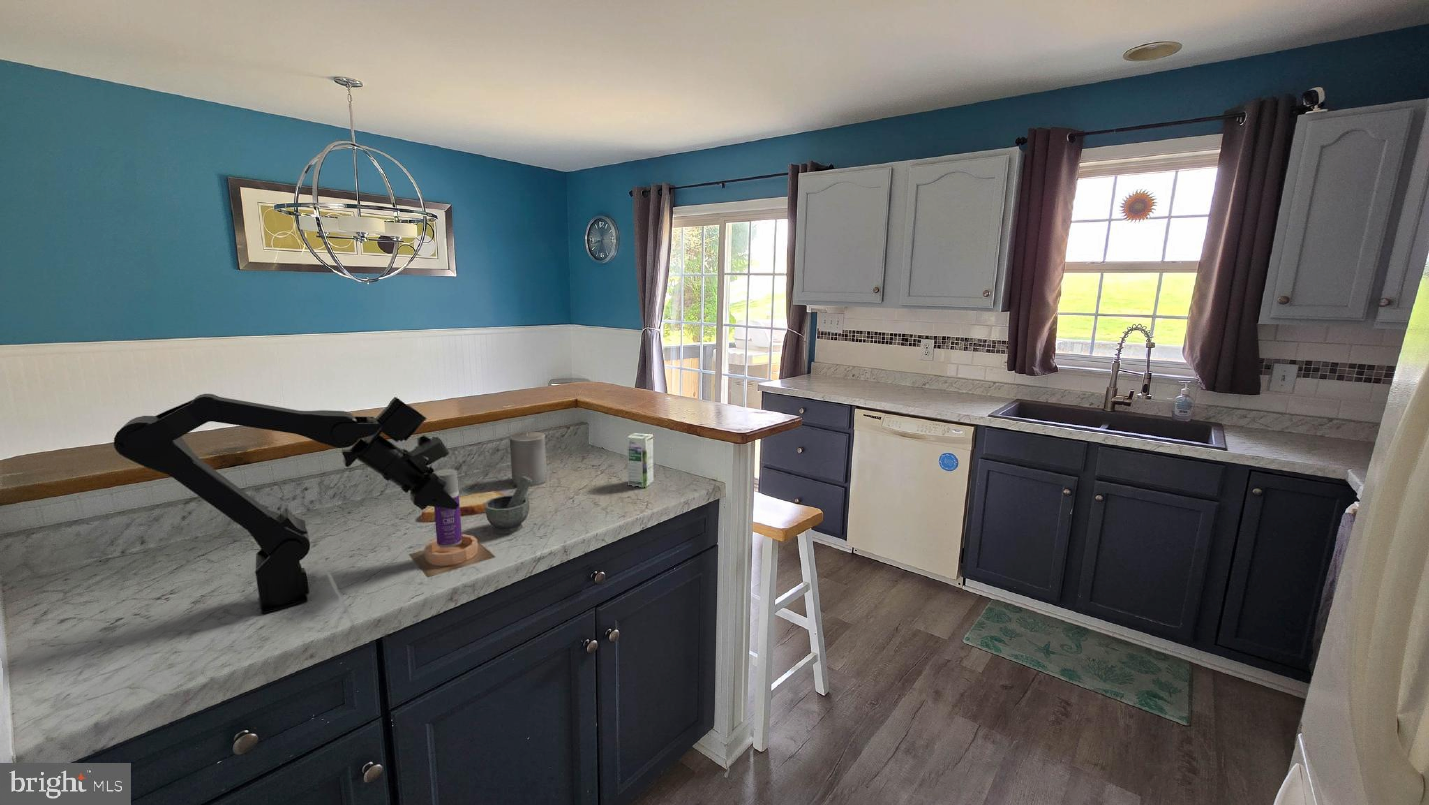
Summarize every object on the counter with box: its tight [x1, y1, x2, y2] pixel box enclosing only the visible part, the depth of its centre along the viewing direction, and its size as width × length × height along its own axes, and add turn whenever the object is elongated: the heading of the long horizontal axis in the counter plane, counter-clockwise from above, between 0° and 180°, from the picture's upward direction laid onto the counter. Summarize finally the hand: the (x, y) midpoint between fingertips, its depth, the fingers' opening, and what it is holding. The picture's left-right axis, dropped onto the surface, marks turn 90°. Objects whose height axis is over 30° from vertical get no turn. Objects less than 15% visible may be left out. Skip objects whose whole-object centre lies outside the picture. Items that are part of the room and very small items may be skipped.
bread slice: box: [419, 490, 505, 523], centre depth 143 cm, size 18×18×4 cm
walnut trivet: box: [408, 540, 496, 578], centre depth 118 cm, size 13×13×1 cm
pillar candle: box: [509, 431, 548, 488], centre depth 165 cm, size 10×10×15 cm
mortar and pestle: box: [484, 476, 533, 535], centre depth 131 cm, size 11×9×12 cm
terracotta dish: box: [423, 533, 479, 566], centre depth 118 cm, size 10×10×2 cm
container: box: [433, 468, 463, 547], centre depth 116 cm, size 5×5×15 cm
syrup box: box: [626, 432, 654, 489], centre depth 163 cm, size 6×6×14 cm
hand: (454, 503), depth 117 cm, fingers closed on container, 5 cm apart
